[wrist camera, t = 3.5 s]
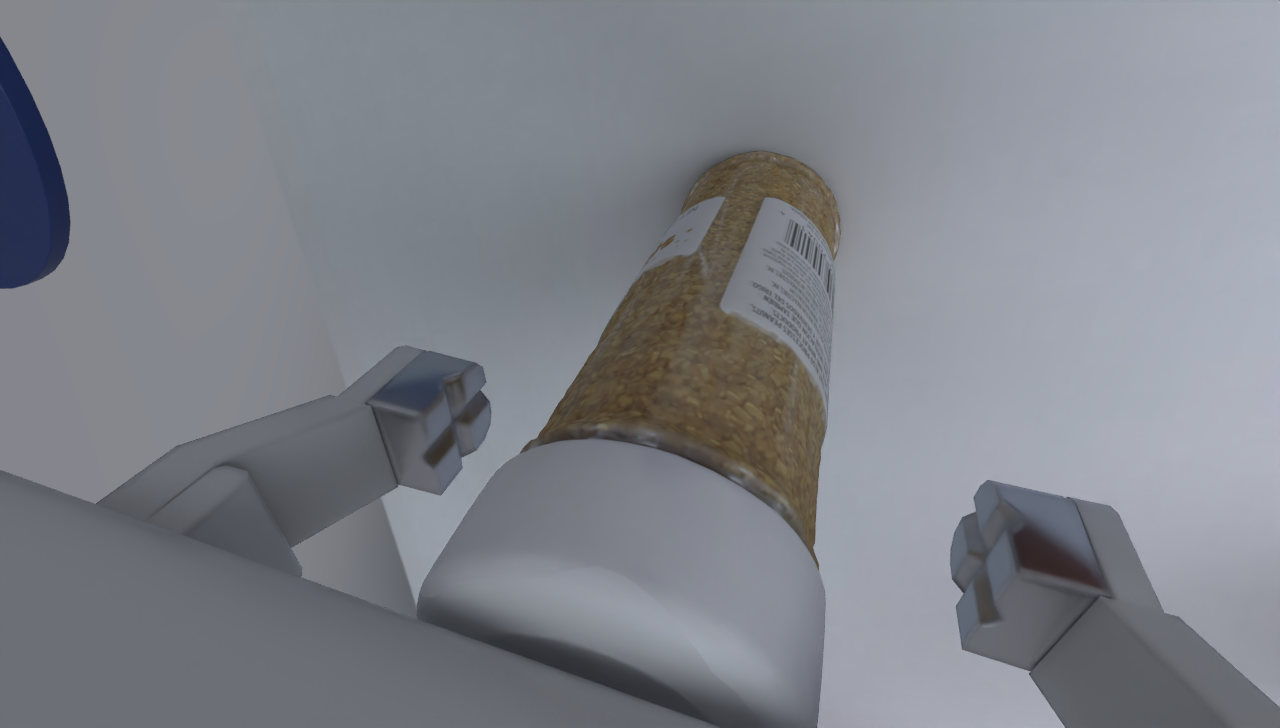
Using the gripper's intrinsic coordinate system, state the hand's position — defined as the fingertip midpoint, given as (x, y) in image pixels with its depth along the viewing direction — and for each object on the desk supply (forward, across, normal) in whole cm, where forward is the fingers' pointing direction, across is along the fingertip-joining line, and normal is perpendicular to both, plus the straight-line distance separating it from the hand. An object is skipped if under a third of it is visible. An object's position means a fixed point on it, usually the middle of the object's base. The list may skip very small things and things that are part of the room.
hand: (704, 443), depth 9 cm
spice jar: (+9, 0, 0) cm, 9 cm away
